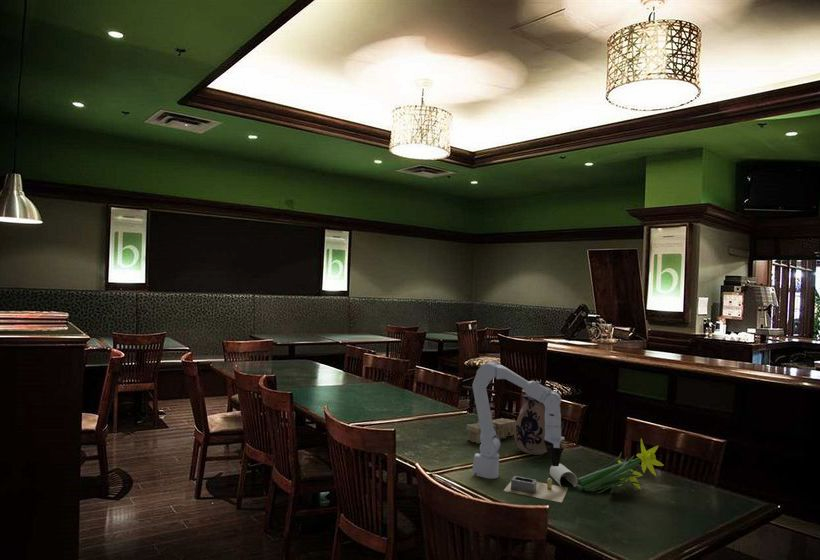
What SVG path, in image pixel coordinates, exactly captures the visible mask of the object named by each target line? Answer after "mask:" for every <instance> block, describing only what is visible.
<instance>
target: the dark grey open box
mask: <svg viewBox="0 0 820 560" xmlns="http://www.w3.org/2000/svg"><path fill="white" fill-rule="evenodd" d="M510 482H511V490H515V491H520V492H525V493H530V494H534V492H535V491H536V484H537V482H538V481H537V479H533V478H530V477H529V478H528V477H525V476H524V477H523V476H518V475H514V476H512V478H511V480H510Z"/></svg>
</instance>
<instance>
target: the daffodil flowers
mask: <svg viewBox="0 0 820 560" xmlns="http://www.w3.org/2000/svg"><path fill="white" fill-rule="evenodd" d="M658 448H659V445H656V446H653V447H652V448H649V449H646V447H645V444H644V442H643V439H642V438H640V453H637V454H636V457H637V458H635V459H634V457H635V455H633V456H631V458H629V459H628V456H626V458H625V459H624V461H621V460H620V459H621V457H622V453H623V452H622V451H621V452H620V454H619V456H618V457H616V458H615V459H614V460H613V461H611V462H610V463H608V464H607V465H605V466H603V467H601V468H599V469H597V470H596V471H594V472H591V473H589V474H586V475H584V476H581V477H577V485H579V486H578V487H579V488H580V490H581V491H585V492H586V491H591V493H593V492H596V494H601V493H603V492H605V491H607V490H609V489H611V488H612V487H617V486H619V487H621V486H623V485H626V484H633V486H635V487H636V488H637V489H638V490H639V489H641V486H644V484H642V483H640V482H639V480H638V479H637V478H638V477H643V475H644V474H642V473H641V472H639V471H638V470H639V469H638V468H636V467H637V466H638V465H639V464H640V463H641V464H640V465H641V470H642V472H643V473H645V472H646V470H647V468H648V470H649V472H650V473H651V474H653V475H654V476H655V477H657V473H656V470H655V469H654V466H656V467H657V466H658V467H663V466H665V465H664V464H663V463H662V462H660V461H659V460H657V457H656V456H657V455H656V454H655V453H656V452H657V450H658ZM627 459H628V461H627ZM628 480H629V481H628ZM640 485H641V486H640ZM597 491H598V492H597Z"/></svg>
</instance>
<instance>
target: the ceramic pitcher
mask: <svg viewBox="0 0 820 560" xmlns="http://www.w3.org/2000/svg"><path fill="white" fill-rule="evenodd" d="M521 397H522V405H521V408H520V411H519V413H518V417H517V419H516V425H515V431H514V436H513V437H514V441H515V443H516V446H517V447H518V449H520V450H521V451H522V452H523V453H525V454H529V455H537V456H538V455H540V456H542V455H544V454H546V453H547V449H546V446H545V443H544V441H543V440H545V406H544V403H541V402H539V401H537V400H536V399H534V398H532V397H531V396H529V395H527V394H526V393H525V394H521Z"/></svg>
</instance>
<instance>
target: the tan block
mask: <svg viewBox="0 0 820 560" xmlns="http://www.w3.org/2000/svg"><path fill="white" fill-rule="evenodd" d="M492 422H493V427H494V430H495V431H496V435H497V437H498V438H502V437H506V436H508V435H514V431H515V425H516V422H517V420H514V419H513V420H512V419H509V418H507V419H506V418H503V417H501V418H496V419H492ZM465 429H466V431H468V433H467V441H468V440H470V441H469V442H471V441H473V442H472V443H474V442H476V443H475V444H478V443H479V444H478V445H480V443H481V441H480V435H481V430H480V424H479V422H476V423H472V424H469V423H468V424H466V428H465Z"/></svg>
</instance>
